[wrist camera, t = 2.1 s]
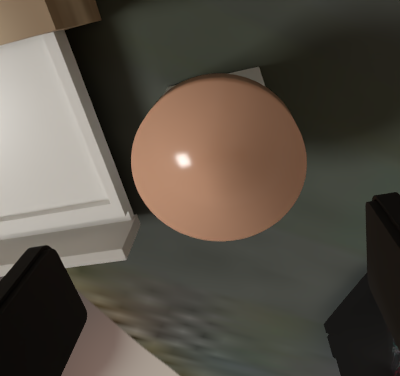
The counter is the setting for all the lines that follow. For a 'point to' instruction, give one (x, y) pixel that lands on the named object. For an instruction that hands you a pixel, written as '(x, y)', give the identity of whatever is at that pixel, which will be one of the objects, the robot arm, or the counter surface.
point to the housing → (43, 17)
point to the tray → (56, 161)
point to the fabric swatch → (362, 336)
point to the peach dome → (219, 158)
